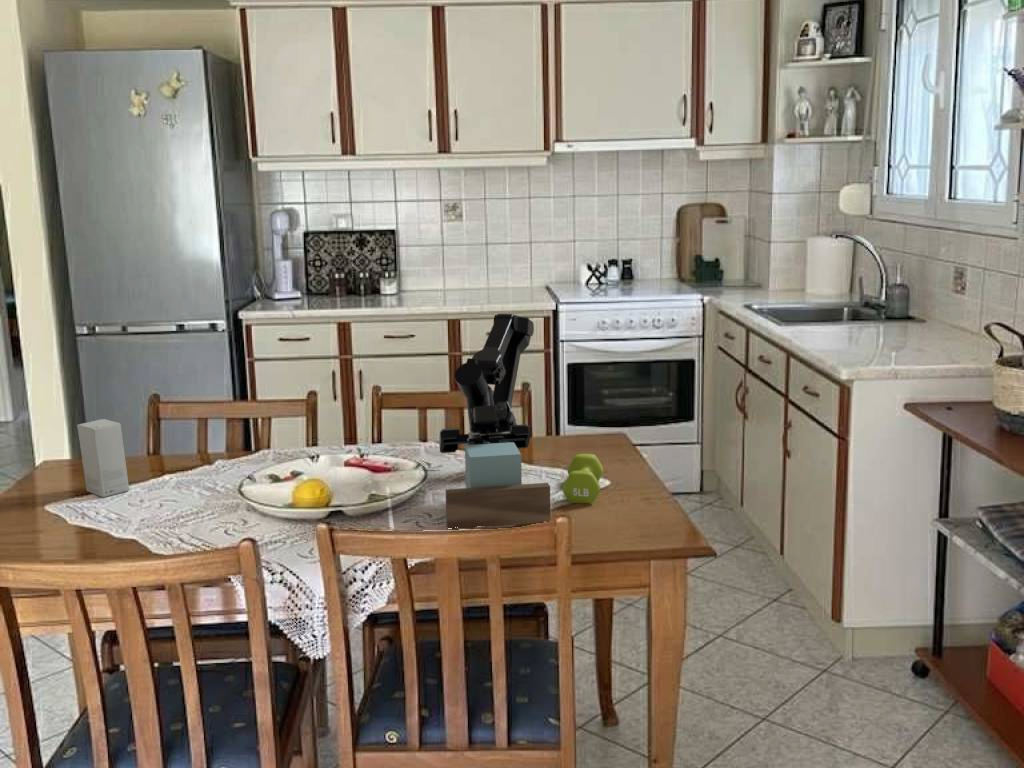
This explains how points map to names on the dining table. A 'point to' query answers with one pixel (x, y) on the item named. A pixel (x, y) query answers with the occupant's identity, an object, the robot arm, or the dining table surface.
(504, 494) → the board
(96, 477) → the skincare box
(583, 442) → the dining table surface
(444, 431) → the robot arm
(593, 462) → the dumbbell
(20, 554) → the dining table surface
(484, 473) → the block
